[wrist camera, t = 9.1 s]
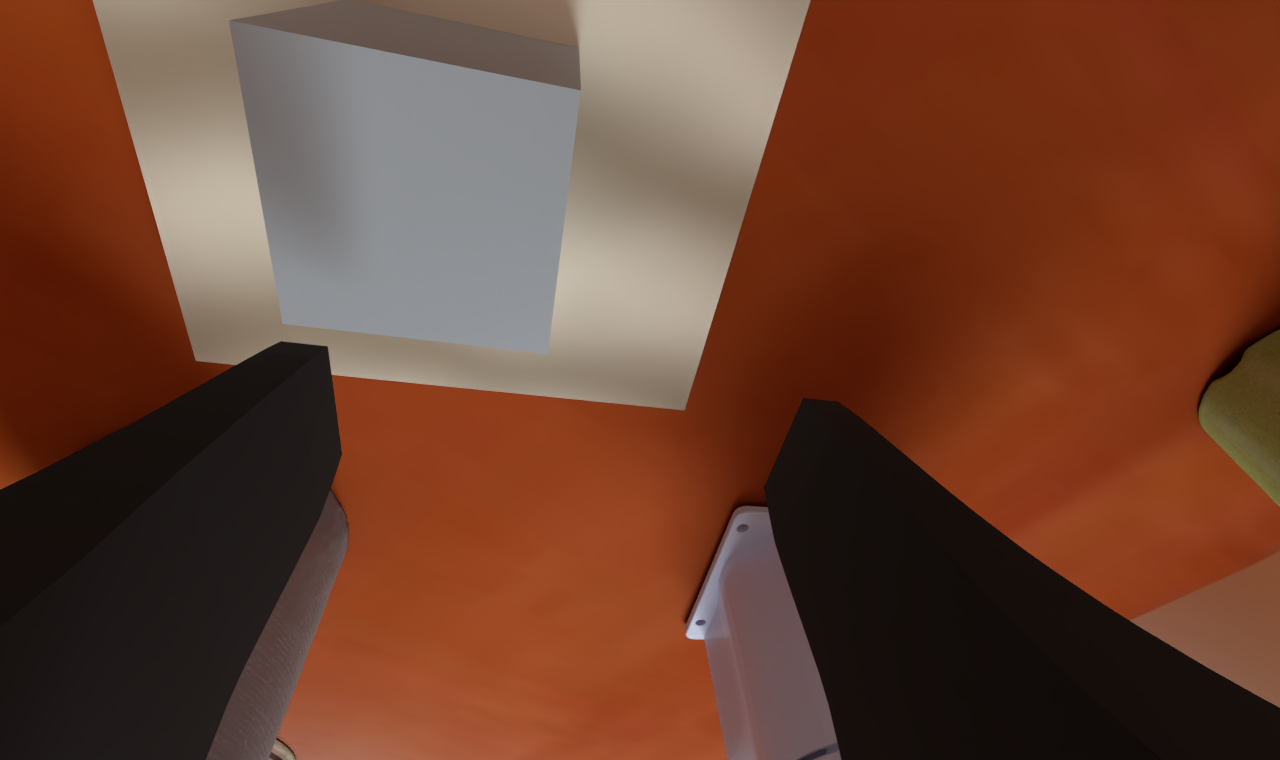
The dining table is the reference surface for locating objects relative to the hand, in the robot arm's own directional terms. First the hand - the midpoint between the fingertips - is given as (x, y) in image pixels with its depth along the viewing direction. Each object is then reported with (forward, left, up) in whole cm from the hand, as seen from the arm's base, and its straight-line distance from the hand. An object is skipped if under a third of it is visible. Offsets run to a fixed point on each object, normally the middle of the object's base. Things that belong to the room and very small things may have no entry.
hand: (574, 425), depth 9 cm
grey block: (+2, +3, -7) cm, 8 cm away
